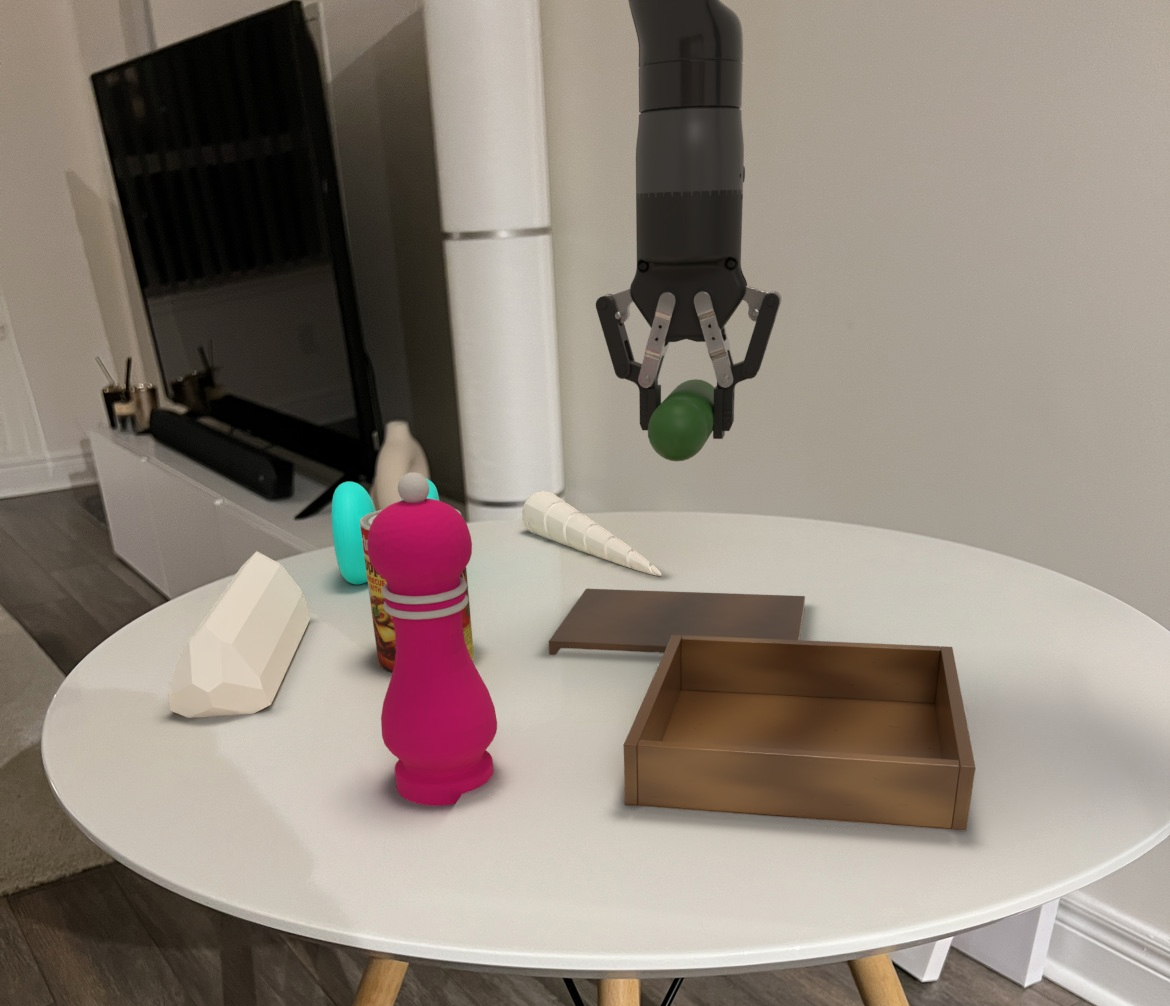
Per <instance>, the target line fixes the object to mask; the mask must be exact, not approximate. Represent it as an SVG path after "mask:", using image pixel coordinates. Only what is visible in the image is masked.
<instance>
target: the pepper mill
mask: <svg viewBox="0 0 1170 1006" xmlns="http://www.w3.org/2000/svg"><path fill="white" fill-rule="evenodd" d="M426 479H427V478H426V477H425V476H424V475H423V474H421V473H420V472H415V471H410V472H407V473H405V474H403V475H402V476H401V477H400V478H399V481H398V483H397V492H398V495H399V497H400V499H403V500H402V501H401V500H399V501H396V502H394V503H391V504H389V505H387V506H386V507H385V508H383V510H382V509H381V510H382V511H381V512H380V513H379V514H378V515H377V516H376V517H375V518H374V520H373V522H372V524H371V526H370V529H369V533H368V540H367V548H368V556H369V560H370V563H371V565H372V566H373V568H374V569H375V570H376V572H377V573H378V574H379V575H380V576H381V577H382V578H383V579H384V580H385V581H386V582H387V583H386V584H385V585H384V586H383V588H382V595H383V596H384V597H385V599H384V600H385V602H384V610H385V611H386V612H387V613H388V614H390V615H392V619H393V624H394V629H395V641H396V655H395V664H394V669H393V672H392V673H391V676H390V680H389V684H388V686H387V689H386V692H385V696H384V699H383V702H382V710H381V714H380V727H381V728H380V729H381V738H382V740H383V743H384V746H385V747H386V748H387V750H388V751H389V752H390V753H391V754H392V756H395V757H396V758H397V759H398V760H397V761H396V763H395V765H394V776H395V783H396V790H397V793H398V795H400V797H402V798H403V799H405V800H407V801H409V802H411V803H415V804H418V805H422V806H423V805H424V806H432V807H433V806H436V807H437V806H439V807H441V806H450V805H451V806H452V805H456V804H457V803H458V801H459V800H460V798H461V797H462V796H463V794H465V793H468V792H471V791H474V790H476V789H479V788H480V787H482V786H484V785H485V784H487V783H488V782H489V781H490V779H491V778H492V777H493V774H494V761H493V756H492V755H491V753H490V752H489V751H488V748H489V746H490V745H491V744H492V742H493V741H494V739H495V737H496V734H497V731H498V719H497V713H496V708H495V705H494V701H493V698H492V696H491V694H490V692H489V689H488V686H487V685H486V683H485V682H484V680H483V678H482V676H481V674H480V673H479V671H478V669H477V667H476V665H475V663H474V661H473V659H471V657H470V654H469V652H468V649H467V646H466V643H465V638H464V632H463V626H462V609H464V608H465V606H466V605H467V604H468V597H467V595H466V591H465V590H466V588H467V583H466V581H465V580H464V579H463V578H461V577H460V576H461V573H462V572H463V570H464V569H465V567H466V568H467V566H468V564H469V563H470V561H471V557H472V555H473V553H472V552H473V542H472V536H471V533H470V529H469V527H468V523H467V522H466V520H465V518H464V517H463V516H461V515H462V513H461V512H460V513H461V514H460V513H459V512H457V511H456V510H457V509H456V508H454V506H452V505H450V504H449V503H446V502H443V501H441V500H439V501H438V500H434V499H428V498H427V496H428V494H429V484H428V481H427V480H426ZM455 509H456V510H455Z"/></svg>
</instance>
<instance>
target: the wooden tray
mask: <svg viewBox="0 0 1170 1006" xmlns="http://www.w3.org/2000/svg"><path fill="white" fill-rule="evenodd" d="M954 653H955V652H954V648H953V646H944V645H943V646H941V645H940V646H939V645H921V644H920V645H919V644H917V645H916V644H896V643H875V642H874V643H873V642H872V643H871V642H851V641H849V642H848V641H828V640H827V641H824V640H802V639H800V640H781V639H757V638H734V637H710V636H687V635H683V636H681V635H672V636H671V638H670V641H669V643H668V645H667V647H666V650H665V652H664V653H663V655H662V656H661V659H660V661H659V664H658V666H657V668H656V670H655V672H654V675H653V677H652V680H651V681H650V684H649V686H648V688H647V691H646V693H645V695H644V697H643V700H642V702H641V705H640V707H639V709H638V711H637V713H636V716H635V718H634V720H633V722H632V725H631V727H630V730H629V731H628V734H627V736H626V738H625V741H624V743H623V779H624V805H625V806H633V807H647V808H658V809H659V808H660V809H671V810H672V809H673V810H686V811H699V812H713V813H723V814H736V815H737V814H738V815H750V816H762V817H763V816H764V817H765V816H766V817H776V818H777V817H778V818H789V819H790V818H791V819H803V820H804V819H805V820H818V821H830V822H831V821H832V822H843V823H854V824H855V823H857V824H868V825H869V824H870V825H881V826H895V827H897V826H898V827H907V828H923V829H935V830H945V831H946V830H948V831H959V832H960V831H961V832H962V831H963V832H966V831H967V829H968V823H969V815H970V808H971V803H972V802H971V801H972V794H973V788H974V781H975V773H976V764H975V757H974V753H973V746H972V741H971V739H970V732H969V726H968V722H967V721H968V720H967V717H966V711H965V710H966V709H965V706H964V700H963V695H962V690H961V685H960V680H959V675H958V669H957V664H956V658H955V654H954Z"/></svg>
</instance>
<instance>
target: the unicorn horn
mask: <svg viewBox="0 0 1170 1006" xmlns="http://www.w3.org/2000/svg"><path fill="white" fill-rule="evenodd" d="M521 514H522V515H521V518H522V521H523V525H524V527H525V528H526V529H527V531H528V532H529V533H532V534H534V535H538V536H539V537H541V538H544V539H548V540H550V541H553V542H556V543H558V544H560V545H564V546H566V547H569V548H573V549H575V550H577V551H579V552H583V553H585V554H588V555H592V556H594V557H597V558H599V559H602V560H604V561H608V562H612V563H613V564H616V565H620V566H623V567H625V568H628V569H633V570H635V571H638V572H641V573H644V574H648V575H651V576H659V577H661V576H662V575H663V573H662V571H660V570H659V569H658V567H656V566H655V565H654V564H652V565H650V564H651V562H650V561H649V560H648V559H646V558H645V557H644V556H643V555H641V554H640V553H639V552H637V551H636V550H634V549H633V547H631V546H630V545H628V544H627V543H625V542H624V541H622V540H621V539H620V538H619V537H616V536H615V535H614V534H612V533H611V532H610V531H608V530H607V529H606V528H605V527H603V526H601V525H600V524H598V523H597V522H596V521H595V520H593V519H592V518H590V517H588V516H586V515H585V514H584V513H581V511H579V510H577V509H576V508H575V507H574V506H572V505H570V504H569V503H568V502H566V501H565V500H564V499H562V498H561V497H559V496H558V495H557V494H555V493H553V492H551V491H547V490H541V491H537V492H534V493H533V494H531V495H530V496H529V497H528V498H527V499H526V500H525V501H524V503H523V507H522V510H521Z"/></svg>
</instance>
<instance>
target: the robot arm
mask: <svg viewBox="0 0 1170 1006" xmlns="http://www.w3.org/2000/svg"><path fill="white" fill-rule="evenodd" d="M628 5H629V9H630V14H631V17H632V21H633V25H634V29H635V32H636V37H637V43H638V113H639V114H638V125H637V127H638V128H637V134H636V135H637V137H636V145H635V211H636V212H635V214H636V215H635V219H636V221H635V223H636V225H635V226H636V227H635V229H636V231H635V232H636V234H635V235H636V268H635V269H636V270H635V274H634V277H633V279H632V281H631V283H630V286H629V288H628V289H625V290H621V291H620V292H616V293H614V294H612V293H606V294H604V295H601V296H599V297H598V298H597V300H596V302H595V309H596V313H597V316H598V319H599V320H598V321H599V323H600V326H601V329H602V333H603V336H604V337H603V338H604V340H605V343H606V347H607V350H608V353H609V357H610V361H611V364H612V367H613V371H614V374H615V376H616V377H617V378H618V379H621V380H626V381H628V382H629V381H630V382H631V383H634V384H635V385H636V387H637V388H638V393H639V397H638V399H639V426H640V428H641V431H648V424H649V421H650V418H651V416H652V414H653V412H654V411H655V410H656V408H657V407H658V406H659V405H660V404H661V403H662V384H659V377H660V373H661V371H662V367H663V363H664V360H665V357H666V354H667V352H668V349H669V345H670V343H677V342H680V341H684V340H689V341H692V342H696V343H705V346H706V349H707V353H708V356H709V358H710V360H711V364H712V368H713V371H714V375H715V378H716V386H714V387H715V388H714V410H713V417H714V423H713V431H712V439H713V440H723V439H724V437H725V435H726V432H730V430H731V428H732V426H733V424H734V422H735V394H736V393H735V391H736V386H737V384H738V383H741V382H743V381H746V380H752V379H754V378H756V376H757V375H758V373H759V371H760V370H761V366H762V363H763V360H764V357H765V354H766V350H767V347H768V344H769V342H770V338H771V335H772V331H773V330H774V329H773V328H774V325H775V322H776V319H777V315H778V313H779V309H780V307H781V303H782V296H781V295H782V294H780V293H779V291H776V290H771V291H767V290H763V289H760V288H757V287H754V286H751V285H748V281H747V279H746V277H745V275H744V271H743V270H742V269H743V268H742V238H743V237H742V235H743V233H742V231H743V229H742V228H743V201H744V200H743V198H744V183H745V179H746V167H745V163H744V161H745V143H744V142H745V141H744V131H743V119H742V118H743V116H742V115H743V114H742V107H743V75H744V74H743V72H744V71H743V70H744V63H743V62H744V35H743V26H742V22H741V19H740V18H739V16H738V14H737V13H736V12H735V11H734V10H733V9H731V8H730V7H728V6H727V5H726V4H725V3H724V2H722V1H721V0H628ZM742 301H744V302H746V304H747V307H748V310H747V312H748V313H747V314H748V318H749V319H750V320H751V321H752V322H755V323H754V324H755V325H754V327H753V331H752V334H751V336H750V340H749V344H748V346H747V350H746V353H745V356H744V358H743V359H744V360H742V361H739V362H736V363H734V359H733V356H732V352H731V346H730V340H729V337H728V332H727V330H726V325H727V323H728V322H729V321H730V319H731V318H732V316H733V315H734V313H735V312H736V310H737V309H738V307H739V306H740V304H741V303H742ZM633 303H634V305H635V306H636V308H637V309H638V311H639V313H640V314H641V316H642V317H643V318H644V320H645V321H646V323H647V324H648V326H649V327H650V332H649V335H648V339H647V341H646V342H647V343H646V346H645V349H644V355H643V360H642V363H640V362H638V361H636V360H635V357H634V353H633V350H632V347H631V343H630V339H629V335H628V333H627V328H626V326H625V325H626V324H625V322H627V321H628V320H629V318H630V316H631V312H630V308H631V305H632V304H633ZM647 438H648V439H649V437H648V436H647Z"/></svg>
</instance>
